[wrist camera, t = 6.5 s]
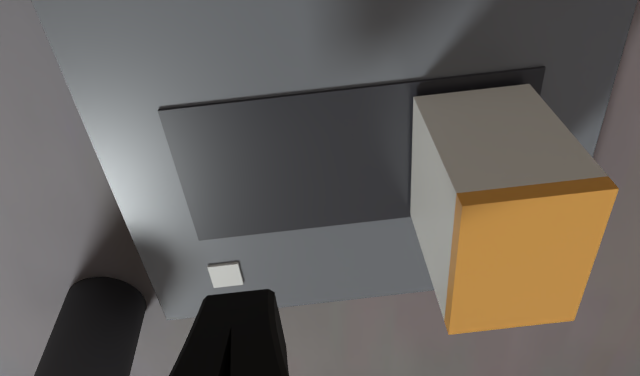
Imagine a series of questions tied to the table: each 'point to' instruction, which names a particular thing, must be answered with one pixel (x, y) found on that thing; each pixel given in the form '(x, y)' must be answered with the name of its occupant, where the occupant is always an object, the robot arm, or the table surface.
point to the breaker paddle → (504, 208)
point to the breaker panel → (302, 124)
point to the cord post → (95, 330)
